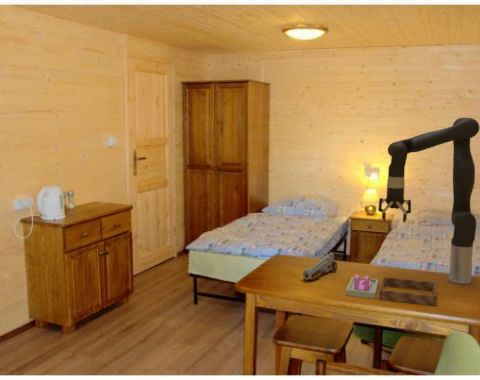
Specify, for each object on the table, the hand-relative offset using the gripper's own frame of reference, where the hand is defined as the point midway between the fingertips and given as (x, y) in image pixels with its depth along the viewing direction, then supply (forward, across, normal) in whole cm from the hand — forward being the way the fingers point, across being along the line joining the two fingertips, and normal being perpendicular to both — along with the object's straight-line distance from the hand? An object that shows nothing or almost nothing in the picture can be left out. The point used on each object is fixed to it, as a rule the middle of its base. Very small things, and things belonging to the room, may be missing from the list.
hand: (394, 221), depth 236 cm
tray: (+28, +11, +18) cm, 35 cm away
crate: (+28, -8, +18) cm, 34 cm away
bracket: (+27, +11, +18) cm, 34 cm away
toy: (+28, +33, +4) cm, 44 cm away
